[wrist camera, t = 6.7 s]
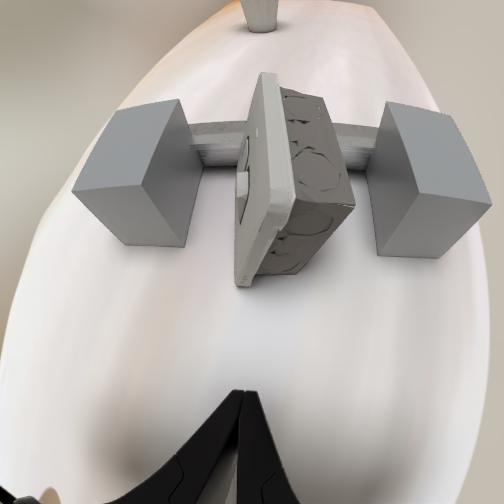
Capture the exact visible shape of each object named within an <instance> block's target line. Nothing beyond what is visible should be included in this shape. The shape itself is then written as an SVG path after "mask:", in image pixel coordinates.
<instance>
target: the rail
mask: <svg viewBox="0 0 504 504" xmlns="http://www.w3.org/2000/svg"><path fill="white" fill-rule="evenodd" d="M246 123H247V121H227V122H211V123H198V124H188V126H189V129H190V131H191V134H192V139H191V141H190V144H189V145H190V148H191V150H197V151H198V154H199V156H200V159H201V162H202V165H203V166H237V165H238V159H239V154H240V150H241V145H242V141H243V136H244V132H245V128H246ZM332 125H333V128H334V131H335V134H336V137H337V140H338V143H339V146H340V149H341V153H342V156H343V159H344V163H345V166H346V169H350V170H362V171H366V169H367V166H368V163H369V160H370V157H371V154H373V155H376V154H377V151H378V147H377V143H376V137H377V134H378V130H379V128H376V127H369V126H360V125H351V124H341V123H332ZM297 155H299V154H297ZM320 156H321V155H320Z"/></svg>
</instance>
